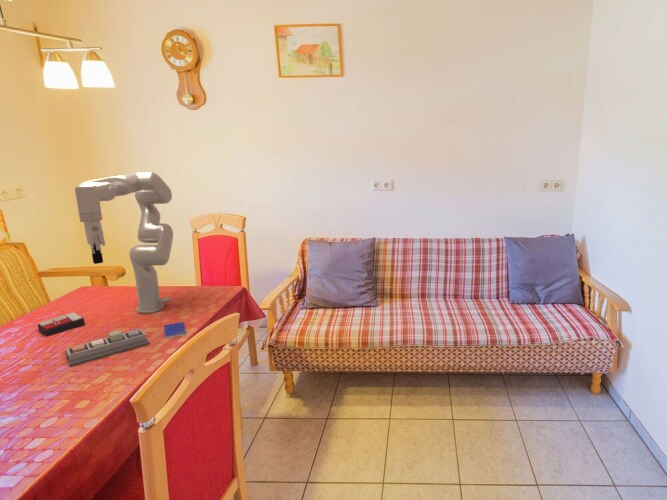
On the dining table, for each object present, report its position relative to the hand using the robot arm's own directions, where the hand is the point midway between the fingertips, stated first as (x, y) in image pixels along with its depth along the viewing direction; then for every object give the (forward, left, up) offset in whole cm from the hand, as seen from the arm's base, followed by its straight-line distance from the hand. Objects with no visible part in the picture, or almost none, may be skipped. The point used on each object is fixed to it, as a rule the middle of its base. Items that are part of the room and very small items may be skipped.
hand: (98, 262), depth 169 cm
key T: (-7, +10, -31) cm, 33 cm away
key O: (+6, +10, -31) cm, 33 cm away
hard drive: (-23, +11, -33) cm, 41 cm away
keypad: (+3, +10, -32) cm, 34 cm away
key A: (-1, +10, -29) cm, 31 cm away
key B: (+12, +10, -31) cm, 35 cm away
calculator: (+14, -26, -33) cm, 44 cm away
